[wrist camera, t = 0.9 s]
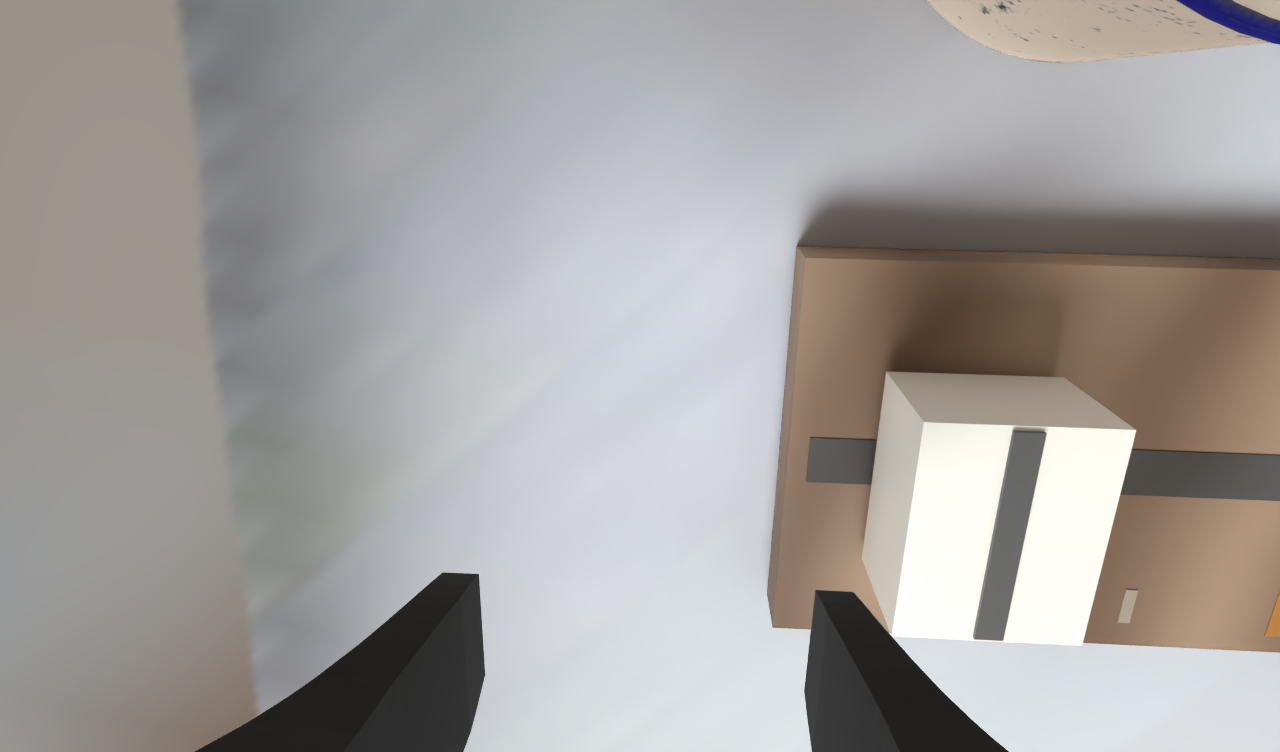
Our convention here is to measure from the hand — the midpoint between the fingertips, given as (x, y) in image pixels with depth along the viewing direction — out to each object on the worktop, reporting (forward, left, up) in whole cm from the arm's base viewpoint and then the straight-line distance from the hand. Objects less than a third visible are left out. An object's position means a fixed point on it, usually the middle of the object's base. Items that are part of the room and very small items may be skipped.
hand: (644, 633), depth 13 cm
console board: (-12, 0, -8) cm, 15 cm away
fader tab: (-7, 0, -6) cm, 10 cm away
